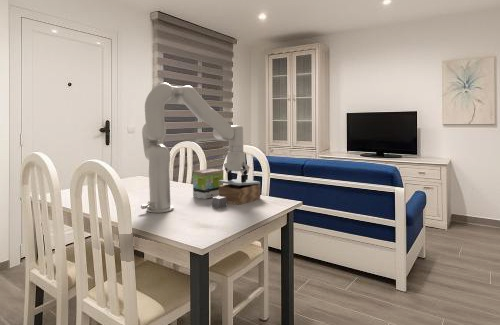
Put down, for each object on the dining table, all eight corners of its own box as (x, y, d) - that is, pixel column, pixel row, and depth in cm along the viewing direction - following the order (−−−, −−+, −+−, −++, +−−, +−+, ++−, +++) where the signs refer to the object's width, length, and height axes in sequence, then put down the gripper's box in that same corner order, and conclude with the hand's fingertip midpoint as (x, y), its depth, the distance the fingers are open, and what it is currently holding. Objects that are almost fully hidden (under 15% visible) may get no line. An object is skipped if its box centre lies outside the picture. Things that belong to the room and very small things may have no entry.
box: (238, 204, 177) (238, 189, 176) (218, 200, 186) (218, 186, 185) (260, 198, 191) (260, 184, 190) (240, 194, 199) (240, 181, 198)
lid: (238, 185, 176) (238, 183, 176) (218, 182, 184) (218, 180, 184) (260, 183, 190) (260, 181, 190) (240, 180, 198) (240, 178, 198)
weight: (219, 208, 170) (219, 198, 169) (212, 207, 173) (212, 197, 172) (226, 206, 173) (226, 197, 173) (219, 205, 176) (219, 195, 176)
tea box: (205, 199, 189) (205, 172, 187) (192, 197, 195) (192, 170, 193) (224, 194, 200) (223, 169, 199) (211, 192, 207) (210, 167, 205)
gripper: (219, 148, 185) (220, 180, 187) (244, 150, 174) (244, 184, 176) (228, 147, 190) (229, 178, 193) (253, 149, 180) (253, 181, 182)
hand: (236, 181), depth 184 cm, fingers open, 9 cm apart
